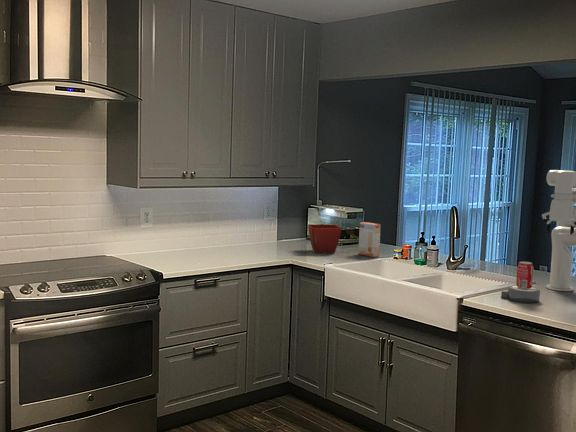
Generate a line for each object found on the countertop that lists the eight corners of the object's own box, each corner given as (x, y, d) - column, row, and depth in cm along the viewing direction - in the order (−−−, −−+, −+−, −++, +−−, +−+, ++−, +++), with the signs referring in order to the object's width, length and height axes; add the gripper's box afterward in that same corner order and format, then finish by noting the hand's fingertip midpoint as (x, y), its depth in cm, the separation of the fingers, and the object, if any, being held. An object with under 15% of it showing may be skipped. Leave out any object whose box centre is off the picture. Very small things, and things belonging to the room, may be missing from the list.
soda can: (528, 286, 297) (530, 261, 296) (534, 289, 290) (536, 263, 289) (513, 286, 297) (515, 261, 296) (519, 289, 290) (521, 263, 289)
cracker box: (379, 257, 402) (381, 224, 400) (372, 257, 399) (374, 224, 396) (365, 253, 414) (366, 221, 411) (357, 254, 410) (359, 222, 408)
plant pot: (307, 249, 425) (307, 224, 423) (335, 249, 427) (336, 224, 426) (311, 253, 406) (312, 227, 404) (340, 254, 408) (341, 228, 407)
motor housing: (504, 294, 305) (505, 283, 304) (541, 299, 297) (542, 287, 296) (499, 299, 292) (499, 288, 292) (537, 305, 285) (538, 293, 284)
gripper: (542, 196, 300) (539, 232, 302) (582, 199, 292) (579, 236, 294) (544, 195, 307) (541, 231, 308) (583, 198, 299) (580, 234, 300)
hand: (560, 233), depth 301 cm, fingers open, 9 cm apart
